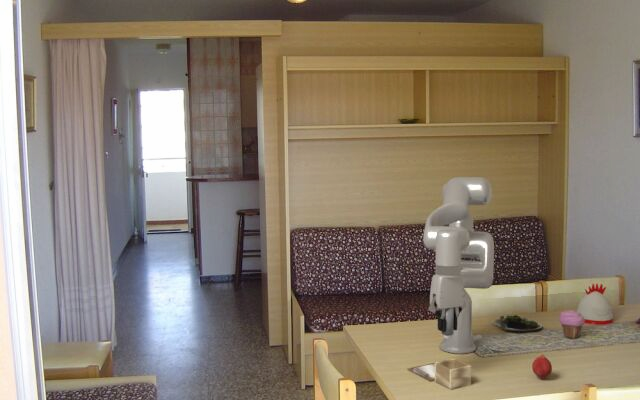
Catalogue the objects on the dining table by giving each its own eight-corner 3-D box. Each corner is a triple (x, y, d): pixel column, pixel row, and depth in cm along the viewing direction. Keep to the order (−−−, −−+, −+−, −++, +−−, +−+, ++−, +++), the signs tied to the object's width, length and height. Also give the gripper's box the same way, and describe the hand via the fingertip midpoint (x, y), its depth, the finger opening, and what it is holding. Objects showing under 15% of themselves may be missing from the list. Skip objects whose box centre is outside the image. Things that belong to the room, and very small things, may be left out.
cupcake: (576, 342, 241) (577, 315, 240) (554, 336, 248) (554, 310, 247) (588, 336, 247) (589, 310, 246) (566, 331, 254) (567, 306, 253)
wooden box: (454, 377, 208) (454, 358, 208) (470, 385, 201) (471, 365, 201) (434, 381, 204) (434, 362, 204) (450, 390, 198) (451, 370, 197)
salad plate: (482, 321, 270) (482, 310, 269) (522, 318, 273) (523, 307, 273) (505, 335, 251) (506, 323, 250) (548, 332, 255) (548, 320, 254)
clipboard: (446, 361, 223) (446, 357, 222) (470, 372, 212) (470, 368, 212) (407, 369, 215) (407, 366, 215) (430, 381, 204) (430, 377, 204)
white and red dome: (618, 324, 262) (619, 287, 261) (583, 325, 263) (584, 287, 261) (604, 315, 276) (605, 279, 275) (570, 315, 276) (571, 279, 275)
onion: (528, 376, 208) (529, 351, 207) (546, 375, 209) (547, 350, 208) (536, 382, 203) (537, 357, 202) (554, 382, 203) (555, 356, 202)
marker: (448, 335, 205) (448, 302, 205) (456, 338, 202) (456, 304, 201) (438, 336, 204) (439, 303, 203) (446, 339, 200) (446, 305, 200)
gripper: (461, 266, 208) (461, 324, 210) (418, 271, 201) (417, 330, 202) (477, 270, 202) (476, 329, 203) (433, 275, 194) (432, 336, 196)
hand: (447, 329), depth 203 cm, fingers closed on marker, 3 cm apart
